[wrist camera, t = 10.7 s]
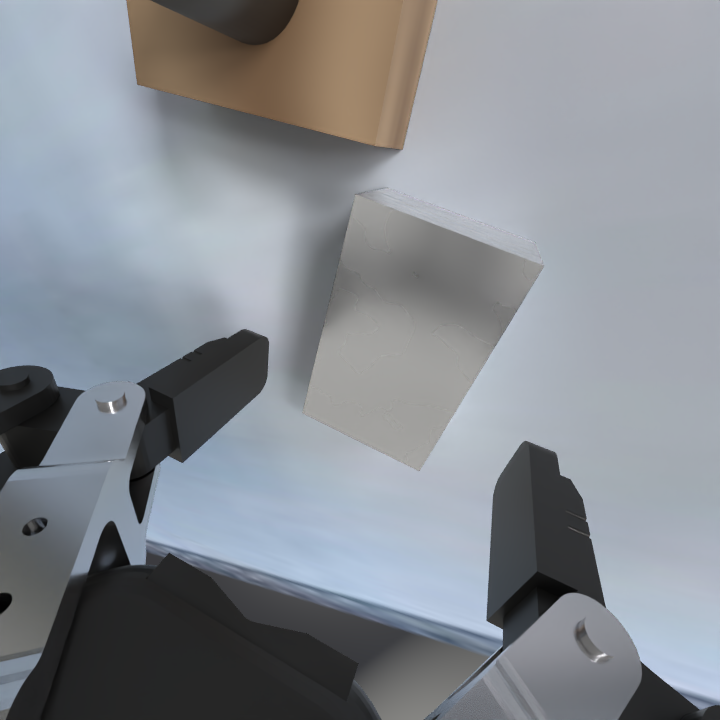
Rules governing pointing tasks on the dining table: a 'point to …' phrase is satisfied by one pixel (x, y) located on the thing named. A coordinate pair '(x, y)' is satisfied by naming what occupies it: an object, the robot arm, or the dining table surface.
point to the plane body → (290, 59)
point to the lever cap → (413, 320)
